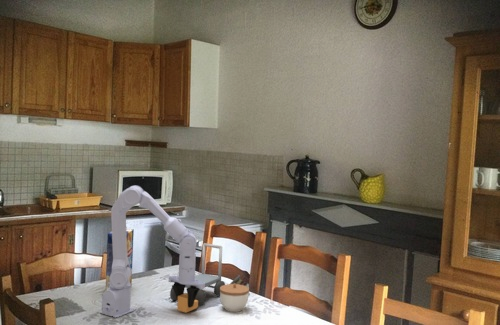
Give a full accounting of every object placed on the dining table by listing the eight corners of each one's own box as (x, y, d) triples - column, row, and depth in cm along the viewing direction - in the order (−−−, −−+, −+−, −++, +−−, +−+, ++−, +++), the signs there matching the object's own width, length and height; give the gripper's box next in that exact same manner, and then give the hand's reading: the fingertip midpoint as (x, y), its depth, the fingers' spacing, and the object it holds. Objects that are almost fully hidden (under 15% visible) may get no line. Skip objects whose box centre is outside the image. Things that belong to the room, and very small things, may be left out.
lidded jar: (244, 315, 167) (246, 289, 166) (215, 312, 169) (216, 286, 168) (250, 306, 177) (251, 281, 177) (223, 302, 179) (224, 278, 179)
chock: (186, 312, 165) (187, 298, 165) (177, 310, 167) (177, 296, 167) (197, 307, 171) (198, 293, 171) (188, 305, 173) (189, 291, 173)
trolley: (195, 308, 172) (198, 254, 171) (169, 301, 178) (172, 250, 177) (224, 294, 189) (227, 246, 189) (200, 288, 195) (202, 241, 195)
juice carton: (124, 296, 181) (127, 234, 180) (105, 295, 181) (107, 233, 180) (131, 287, 193) (133, 229, 192) (113, 286, 193) (115, 228, 192)
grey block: (234, 302, 183) (252, 277, 188) (220, 293, 186) (238, 269, 192) (239, 312, 190) (256, 288, 195) (225, 303, 193) (242, 280, 199)
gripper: (210, 268, 167) (208, 306, 167) (177, 261, 174) (176, 298, 174) (198, 272, 161) (197, 312, 161) (165, 265, 168) (163, 303, 168)
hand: (185, 305), depth 167 cm, fingers closed on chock, 4 cm apart
